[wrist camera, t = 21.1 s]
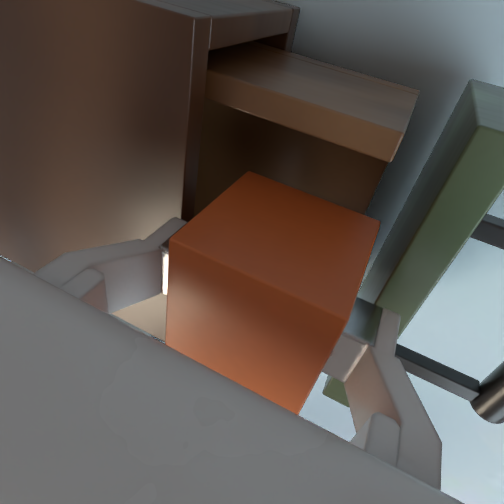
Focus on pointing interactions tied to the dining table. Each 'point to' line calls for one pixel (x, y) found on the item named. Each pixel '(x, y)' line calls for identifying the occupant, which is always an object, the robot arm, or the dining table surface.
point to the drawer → (362, 174)
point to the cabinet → (110, 119)
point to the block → (266, 285)
